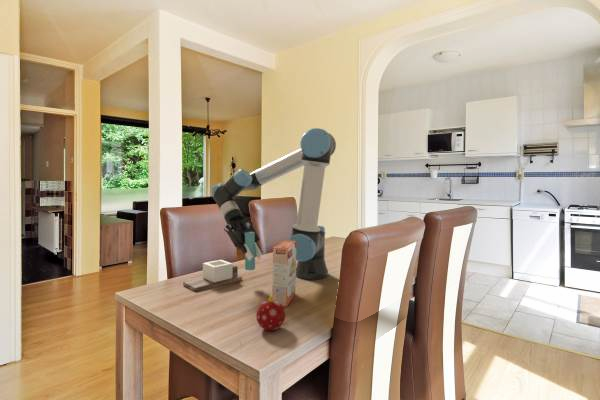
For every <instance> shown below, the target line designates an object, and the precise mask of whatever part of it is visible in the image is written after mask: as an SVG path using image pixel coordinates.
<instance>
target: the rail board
mask: <svg viewBox="0 0 600 400" xmlns="http://www.w3.org/2000/svg"><path fill="white" fill-rule="evenodd" d="M238 269H239V267H238V266H237V265H235V264H233V278H231V279H227V280H222V281H218V282H212V281H209V280H207V279H205V278H203V277H199V278H195V279H190V280H186V281H183V284H182V285H183V286H184V287H185V288H187V289H189V290H191V291H192V292H194V293H196V292H201V291H204V290H207V289H212V288H215V286H216V287H220V286H223V284H224V285H227V284H232V283H236V282H239V281H242V280H243V276H241V275H239V274H238V273H239V272H238ZM219 285H220V286H219ZM211 287H212V288H211Z"/></svg>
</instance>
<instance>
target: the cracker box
mask: <svg viewBox="0 0 600 400" xmlns="http://www.w3.org/2000/svg"><path fill="white" fill-rule="evenodd" d="M296 247H297V242H296V241H289V240H282V241H281V242H279V243H277V244H276V245H275V246H273V247H272V286H271V287H272V289H271V290H272V291H271V292H272V293H271V296H272V297H273V300H275V301H277V302H279V303H280V304H281V305H282V306H283V307H284V308H286V307H287V308H288V305H289V304H290V303H291V302H292V300H293V298H294V297H295V295H296V279H297V276H296V267H297V260H296Z"/></svg>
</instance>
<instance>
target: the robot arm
mask: <svg viewBox="0 0 600 400" xmlns="http://www.w3.org/2000/svg"><path fill="white" fill-rule="evenodd" d="M335 139H336V138H334V136H333V135H332V134H331V133H330V132H328V131H327V130H325V129H323V128H317V127H315V128H310V129H308V130H307V131H305V132H304V133H303V134H302V136H301V139H300V144H299V145H300V148H299V149H297V150H294V151H292V152H291V153H289V154H287V155H284V156H283V157H280V158H278V159H277V160H274V161H272V162H270V163H268V164H267V165H264V166H262V167H261V168H258V169H256V170H254V171H252V172H250V173H249V172H248V170H245V169H244V168H240V169H238V170H237V171H236V172H235V173H234V174H233V175H232V176H231V177H230V178H229V179H228V180H227V181H226V182H225V183H223V182H219V183H217V184H216V185H214V186H212V188H211V191H210V192H211V195H212V198H213V200H214V201H215V203H216V205H217V207H218V209H219V211H220V213H221V215H222V217H223V218H224V221H225V222H226V223H225V224H226V225H225V226H224V228H223V230H224V232H226V234H227V235H228V236H229V237H228V238H230V240H231V242H232V244H233V246H234V247H235V248H238V249H240V250H241V252H242V254H244V256H245V255H246V257H247V258H248V260H249V261H250V260H251V259H252V258H253V255H252V254H251V252H250V250H249V248H248V246H247V244H245V241H244V240H243V239H244V238H243V236H242V235H244V236H245V232H255V257H257V259H258V260H259V259H261V257H262V256H263V253H262V252H261V250H260V249H261V248H260V245H259V241H260V237H259V235H258V233H257V232H256V229H255V227H254V223H253V222H252V221H250V222H247V221H246V220H245V219H244V215H243V213H242V211H241V209H240V208H239V205H238V204H237V203H236V201H235V198H236V197H238V196H239V194H241V193H242V192H243V191H244V192H245V191H246V192H247V191H255V190H258V189H259V188H260V187H262V186H263V185H266V184H267V183H269V182H273V181H274V180H276V179H278V178H280V177H282V176H285V175H286V174H289V173H291V172H293V171H296V170H297V169H300V168H302V167H303V172H302V173H303V174H302V180H301V181H302V182H301V187H300V188H301V189H300V197H299V203H298V210H297V217H296V223H295V224H293V225H292V229H291V236H290V237H289V239H288V241H296V242H297V247H296V278H297V277H298V278H300V279H304V280H322V279H325V278H327V277H328V276H329V269H328V267H327V264H326V261H325V260H326V259H325V253H326V252H325V249H326V247H325V245H326V242H325V241H326V239H325V238H326V229H325V226H323V225H318V223H319V214H320V208H321V207H320V206H321V201H322V200H321V199H322V192H323V186H324V179H325V171H326V168H327V167H328V166H330V162H331V156H332V155H333V154H334V153H335V151H336V148H337V147H336V146H337V143H336V140H335Z"/></svg>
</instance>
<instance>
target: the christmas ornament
mask: <svg viewBox="0 0 600 400" xmlns="http://www.w3.org/2000/svg"><path fill="white" fill-rule="evenodd" d="M255 316H256V321H257V323H258V325H259V326H260V327H261V328H262V329H263V330H266V331H275V330H277V329H279V328H280V327H282V326H283V324H284V322H285V320H286V310H285V307H283V306H282V305H281V304H280V303H279V302H277V301H275V300H273V297H272V295H269V297H268V299H267V300H265V301H263V302H262V303H260V305H259V306H258V308H257V310H256V315H255Z"/></svg>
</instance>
